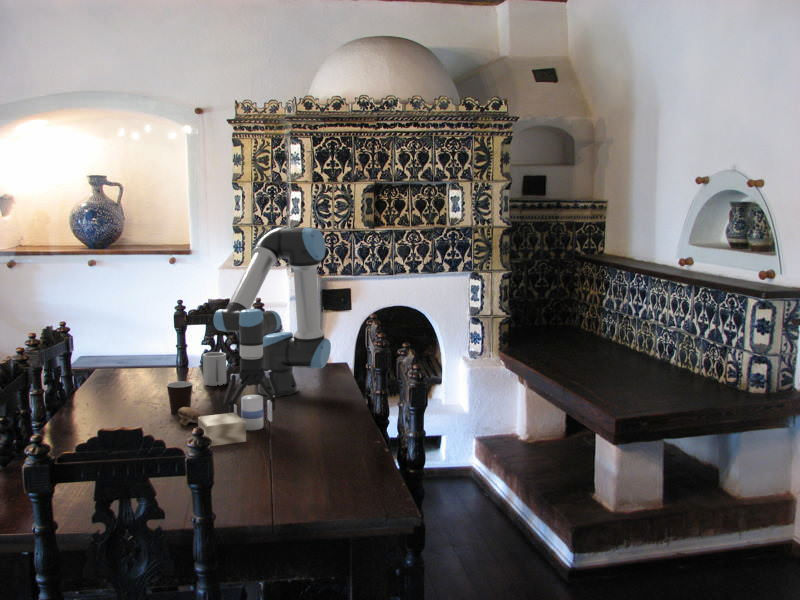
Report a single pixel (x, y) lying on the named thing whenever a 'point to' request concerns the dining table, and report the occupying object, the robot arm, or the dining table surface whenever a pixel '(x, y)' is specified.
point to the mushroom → (188, 415)
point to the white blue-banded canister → (252, 411)
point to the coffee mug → (179, 395)
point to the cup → (214, 368)
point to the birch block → (223, 428)
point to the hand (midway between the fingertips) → (252, 422)
